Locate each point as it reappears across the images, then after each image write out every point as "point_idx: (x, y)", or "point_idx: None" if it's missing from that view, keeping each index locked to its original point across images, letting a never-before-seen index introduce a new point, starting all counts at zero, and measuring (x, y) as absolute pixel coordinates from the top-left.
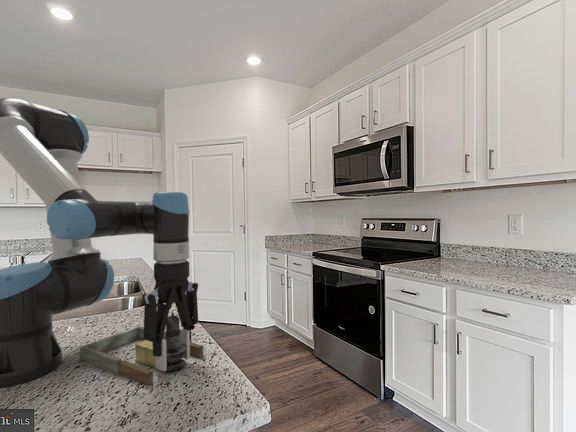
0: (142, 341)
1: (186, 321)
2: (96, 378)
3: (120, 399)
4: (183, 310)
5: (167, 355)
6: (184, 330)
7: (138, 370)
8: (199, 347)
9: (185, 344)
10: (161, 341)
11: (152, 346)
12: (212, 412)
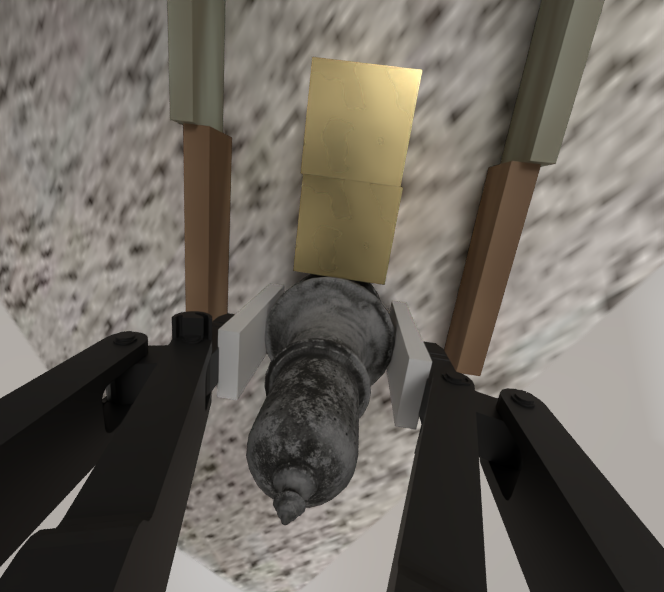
0: (361, 65)
1: (412, 467)
2: (143, 75)
3: (120, 295)
4: (391, 571)
5: (270, 357)
6: (404, 402)
7: (185, 276)
8: (459, 370)
9: (389, 368)
10: (218, 381)
11: (327, 197)
12: (206, 529)
